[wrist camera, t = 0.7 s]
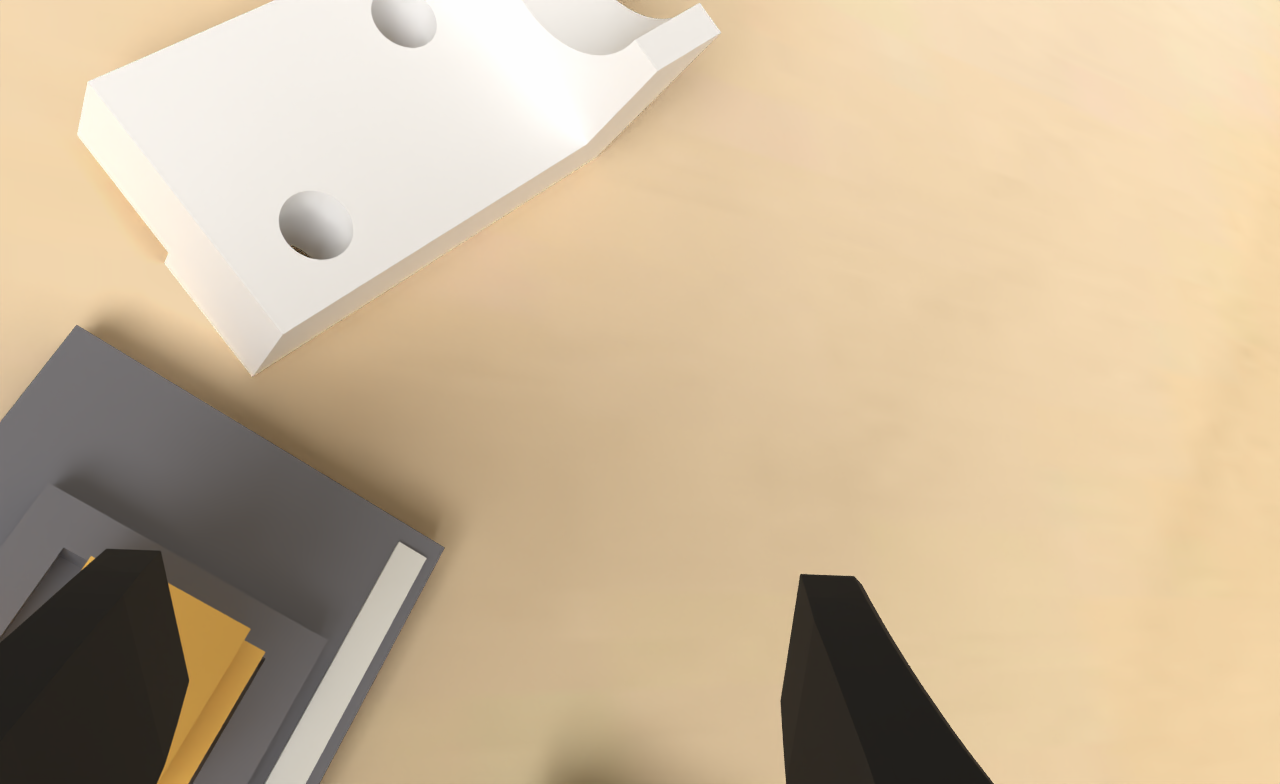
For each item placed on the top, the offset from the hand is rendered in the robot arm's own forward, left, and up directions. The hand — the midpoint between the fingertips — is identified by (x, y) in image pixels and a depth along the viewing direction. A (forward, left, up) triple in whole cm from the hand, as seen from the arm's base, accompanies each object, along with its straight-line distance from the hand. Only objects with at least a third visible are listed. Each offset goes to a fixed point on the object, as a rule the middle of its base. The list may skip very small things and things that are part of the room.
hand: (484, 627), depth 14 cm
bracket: (+15, +4, -17) cm, 23 cm away
